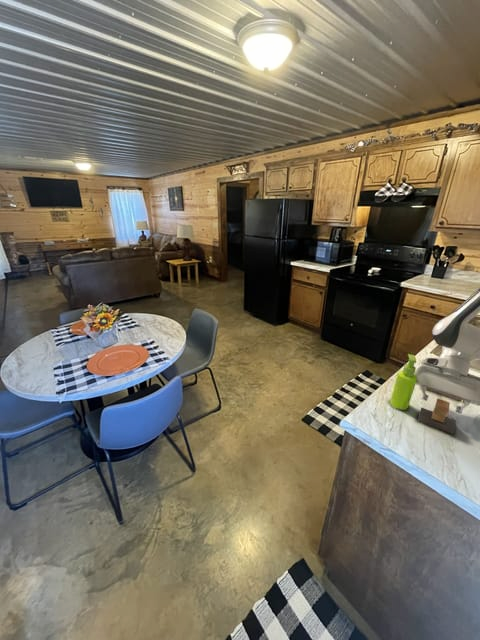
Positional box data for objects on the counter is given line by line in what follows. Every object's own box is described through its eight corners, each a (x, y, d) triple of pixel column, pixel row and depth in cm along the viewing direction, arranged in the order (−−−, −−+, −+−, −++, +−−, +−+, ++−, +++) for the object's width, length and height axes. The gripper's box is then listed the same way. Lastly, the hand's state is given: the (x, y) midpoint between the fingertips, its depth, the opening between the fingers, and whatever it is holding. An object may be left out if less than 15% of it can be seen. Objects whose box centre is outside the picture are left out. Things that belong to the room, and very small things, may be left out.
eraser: (454, 426, 89) (462, 406, 85) (453, 435, 85) (462, 414, 82) (419, 412, 94) (426, 393, 91) (417, 420, 91) (424, 400, 88)
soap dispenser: (406, 400, 101) (420, 355, 93) (408, 411, 95) (424, 364, 87) (389, 395, 103) (401, 351, 95) (390, 406, 97) (403, 360, 89)
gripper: (488, 382, 88) (478, 422, 85) (417, 361, 100) (406, 395, 97) (494, 377, 83) (484, 419, 80) (419, 356, 95) (407, 391, 92)
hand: (440, 405), depth 88 cm, fingers open, 8 cm apart
